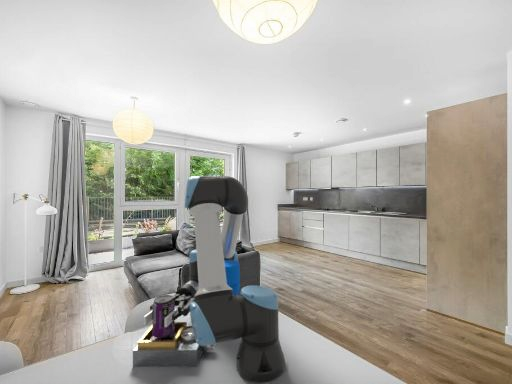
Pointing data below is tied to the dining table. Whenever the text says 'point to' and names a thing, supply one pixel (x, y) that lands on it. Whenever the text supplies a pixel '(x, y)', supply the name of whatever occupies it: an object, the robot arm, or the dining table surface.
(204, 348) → the grey holder stand
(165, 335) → the beverage can
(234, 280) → the thermos
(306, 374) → the dining table surface
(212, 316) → the robot arm
